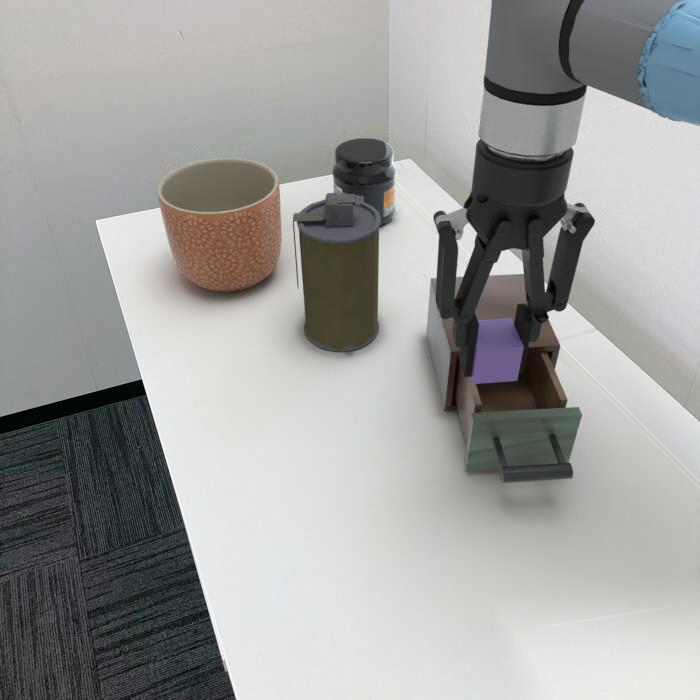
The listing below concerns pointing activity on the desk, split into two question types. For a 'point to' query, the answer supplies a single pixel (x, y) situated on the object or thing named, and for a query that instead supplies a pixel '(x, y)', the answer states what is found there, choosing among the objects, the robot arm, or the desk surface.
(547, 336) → the drawer cabinet
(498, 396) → the green drawer
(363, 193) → the supplement container
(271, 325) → the desk surface
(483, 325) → the lavender cube
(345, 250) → the canister
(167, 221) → the planter
